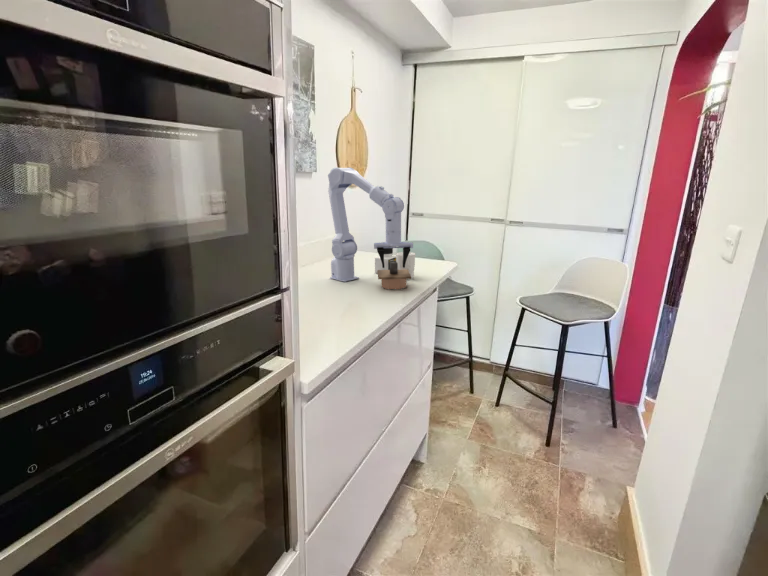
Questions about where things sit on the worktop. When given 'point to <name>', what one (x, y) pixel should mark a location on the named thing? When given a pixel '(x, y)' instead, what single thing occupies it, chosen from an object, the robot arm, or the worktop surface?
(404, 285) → the bowl
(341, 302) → the worktop surface
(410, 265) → the white cup
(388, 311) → the worktop surface
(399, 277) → the lid
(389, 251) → the medicine bottle
